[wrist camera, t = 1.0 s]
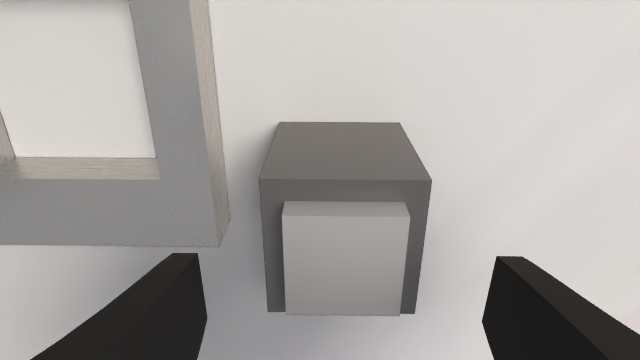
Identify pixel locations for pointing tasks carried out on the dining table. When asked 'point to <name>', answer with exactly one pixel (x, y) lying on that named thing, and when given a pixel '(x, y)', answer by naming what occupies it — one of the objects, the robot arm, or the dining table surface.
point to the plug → (343, 219)
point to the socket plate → (136, 173)
